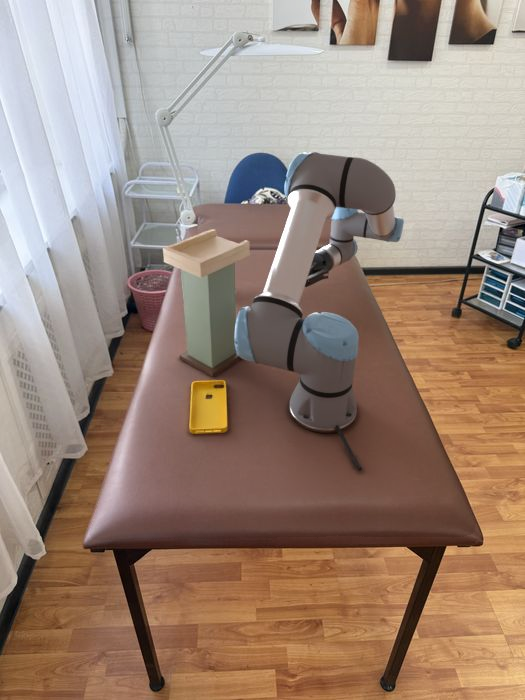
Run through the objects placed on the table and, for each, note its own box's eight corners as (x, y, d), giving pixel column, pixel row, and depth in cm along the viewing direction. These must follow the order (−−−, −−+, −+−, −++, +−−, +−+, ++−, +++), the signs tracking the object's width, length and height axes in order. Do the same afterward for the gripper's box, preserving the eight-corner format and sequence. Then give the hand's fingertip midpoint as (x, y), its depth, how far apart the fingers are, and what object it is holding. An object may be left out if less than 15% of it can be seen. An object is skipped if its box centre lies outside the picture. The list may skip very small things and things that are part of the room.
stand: (216, 336, 141) (212, 228, 124) (249, 352, 135) (249, 241, 117) (173, 362, 131) (162, 248, 113) (206, 380, 125) (200, 263, 107)
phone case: (189, 434, 109) (189, 429, 109) (192, 385, 123) (191, 381, 123) (227, 432, 110) (227, 428, 109) (225, 384, 124) (225, 379, 123)
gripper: (343, 279, 158) (299, 307, 143) (302, 264, 166) (255, 289, 151) (346, 256, 153) (300, 283, 138) (303, 242, 162) (255, 266, 147)
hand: (277, 286), depth 145 cm, fingers closed on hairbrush, 3 cm apart
